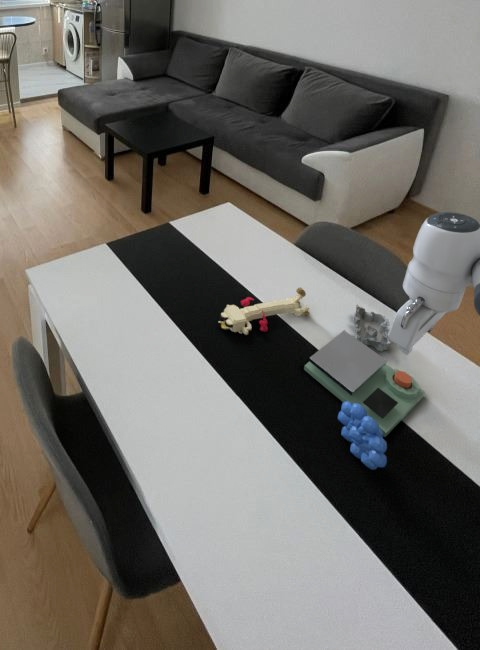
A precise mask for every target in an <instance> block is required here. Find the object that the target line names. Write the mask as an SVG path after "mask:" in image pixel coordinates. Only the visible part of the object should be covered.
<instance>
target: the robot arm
mask: <svg viewBox="0 0 480 650" xmlns="http://www.w3.org/2000/svg"><path fill="white" fill-rule="evenodd" d="M412 247H413V248H412V254H413V256H412V258H411V260H410V261H409V263H408V264H407V268H406V270H405V276H404V277H403V281H402V289H403V290H404V292H405V294H406V295H407V296H408V297H409V299H408V300H407V301H405V303H404V304H403V305H402V306H400V308H399V309H398V310H397V311H396V314H395V316H394V318H393V321H392V323H391V326H390V331H389V334H388V337H389V339H390V340H391V342H392V343H393V344H395V345H396V346H398V347H397V349H398V351H400V352H401V353H402V354H403V355H406V356H409V354H410V353H412V350H413V348H414V346H415V345H416V344H417V343H418V342H419V341H420V340H421V339H422V338H423V337H424V336H425V335H426V334H427V333H431V332H432V331H433V330H434V328H435V326H436V324H437V323H438V322H439V321H440V320H441V319H442V318H443V317H444V316H445V315H446V314H447V313H450V312H454V311H457V310H458V309H459V308H460V306H461V304H462V301H463V298H464V294H465V293H466V290H467V289H468V287H473V306H474V309H475V311H476V313H477V315H478V316H479V317H480V221H479V220H477V218H474V217H473V216H470V215H467V214H464V213H460V212H454V211H440V212H436V213H433V214H431V215H429V216H428V217H427V218H426V219H425V220H424V222H423V223H422V224H421V226H420V228H419V230H418V233H417V234H416V238H415V241H414V244H413V246H412Z"/></svg>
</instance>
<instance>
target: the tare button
mask: <svg viewBox="0 0 480 650" xmlns="http://www.w3.org/2000/svg"><path fill="white" fill-rule="evenodd" d="M403 371H404V370H401V371H397V372H396V373H395V376H394V381H395V383H396V384H397V385H398V386H400V387H401V388H405V389H408V388H410V386H411V383H412V379H411V377H410V376H411V375H410V374H409V373H407V372H406V373H405V371H404V372H403ZM408 374H409V375H410V376H409V375H408Z"/></svg>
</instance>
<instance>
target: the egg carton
mask: <svg viewBox="0 0 480 650" xmlns="http://www.w3.org/2000/svg"><path fill="white" fill-rule="evenodd" d="M353 322H354V331H355V337H354V338H356V339H357V340H359V341H360V342H361V343H363V344H364V345H366V346H367V347H368V346H371V347H373V348H375V349H376V351H379V352H383V351H388V348H389V345H390V344H391V342H392V341H391V340H390V339H389V337H388V334H389V331H390V328H391V326H390V320H389V318H388V317H387V316H386V315H382V314H381V313H375V312H374V311H370V312H368V311H366V309H365V308H364V307H362V306H359V304H356V305H355V312H354V313H353Z"/></svg>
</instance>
